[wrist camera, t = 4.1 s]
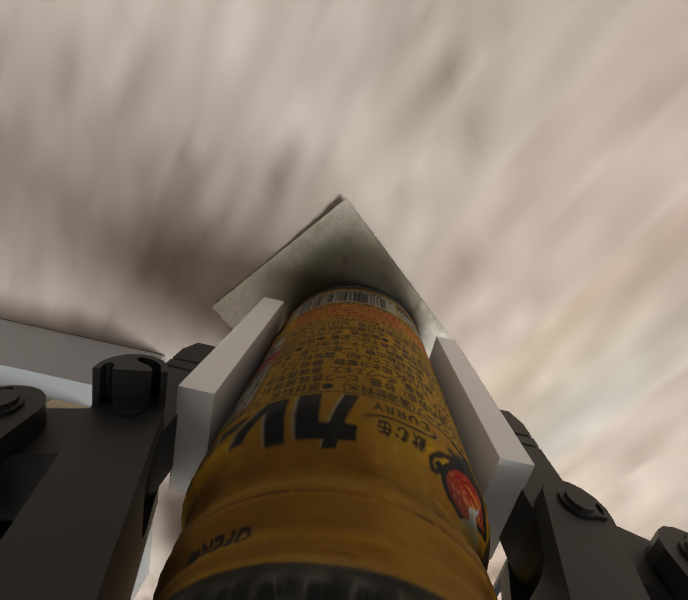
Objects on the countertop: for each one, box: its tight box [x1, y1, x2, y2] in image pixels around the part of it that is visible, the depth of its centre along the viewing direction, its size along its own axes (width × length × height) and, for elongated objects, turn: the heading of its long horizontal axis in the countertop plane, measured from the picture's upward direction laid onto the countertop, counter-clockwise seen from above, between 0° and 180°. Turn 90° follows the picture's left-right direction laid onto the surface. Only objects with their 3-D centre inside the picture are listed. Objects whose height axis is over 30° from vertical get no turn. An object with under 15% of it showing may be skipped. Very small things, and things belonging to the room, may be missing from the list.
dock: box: [0, 319, 165, 600], centre depth 16 cm, size 14×12×3 cm
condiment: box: [153, 198, 498, 600], centre depth 9 cm, size 7×8×12 cm
